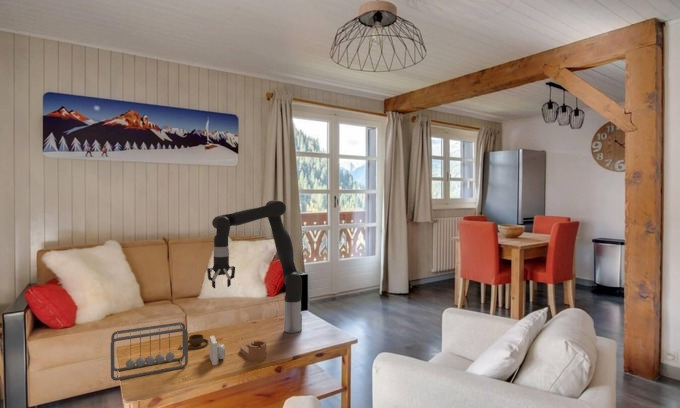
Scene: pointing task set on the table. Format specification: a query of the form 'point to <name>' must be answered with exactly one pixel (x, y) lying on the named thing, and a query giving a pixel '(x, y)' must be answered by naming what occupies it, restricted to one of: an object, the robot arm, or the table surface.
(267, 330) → the table surface
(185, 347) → the newton's cradle
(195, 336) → the place setting
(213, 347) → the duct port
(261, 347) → the bracket
